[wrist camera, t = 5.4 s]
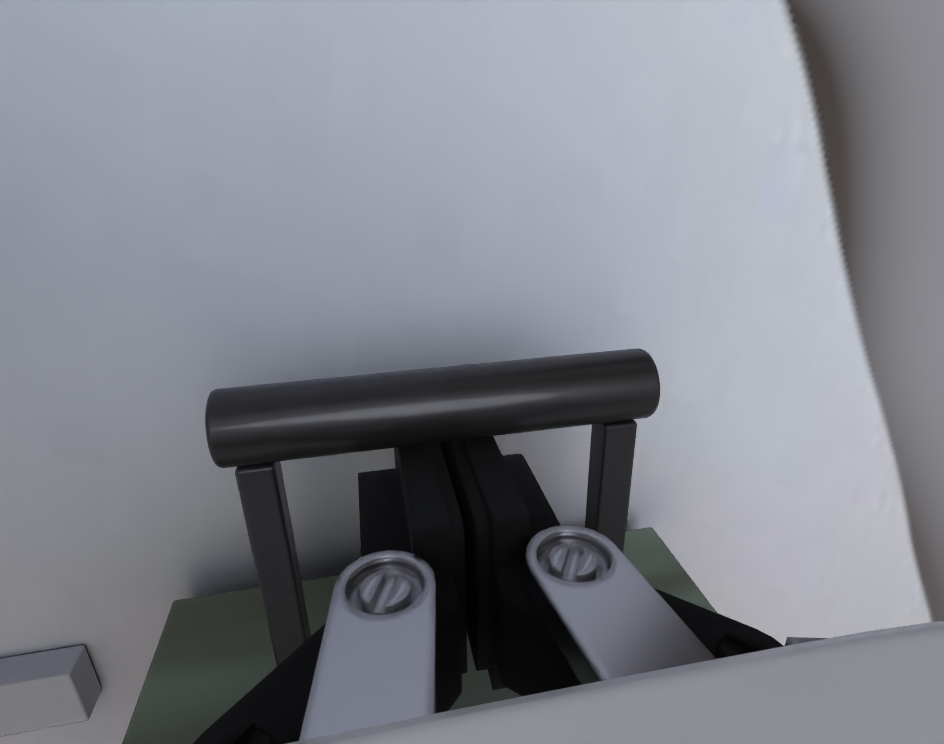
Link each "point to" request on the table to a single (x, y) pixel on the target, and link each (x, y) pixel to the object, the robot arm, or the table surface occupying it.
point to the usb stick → (46, 690)
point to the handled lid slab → (364, 429)
